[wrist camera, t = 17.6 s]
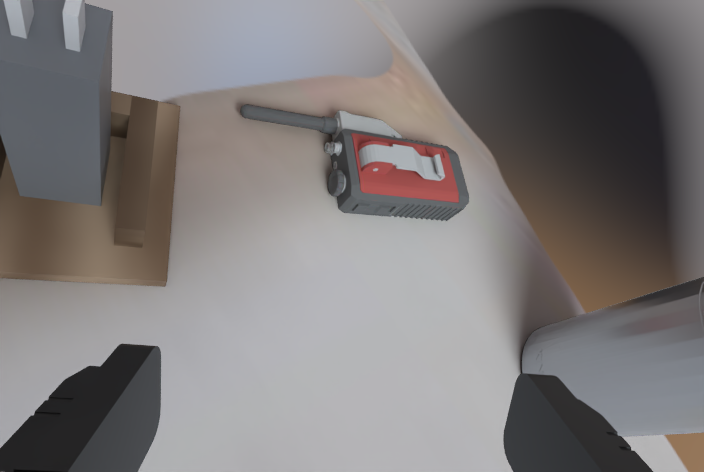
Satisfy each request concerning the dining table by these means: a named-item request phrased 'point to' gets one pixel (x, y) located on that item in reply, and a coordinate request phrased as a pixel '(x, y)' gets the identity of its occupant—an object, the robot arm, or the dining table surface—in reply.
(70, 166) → the connector plug
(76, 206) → the tray
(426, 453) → the dining table surface
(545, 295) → the dining table surface
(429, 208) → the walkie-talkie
